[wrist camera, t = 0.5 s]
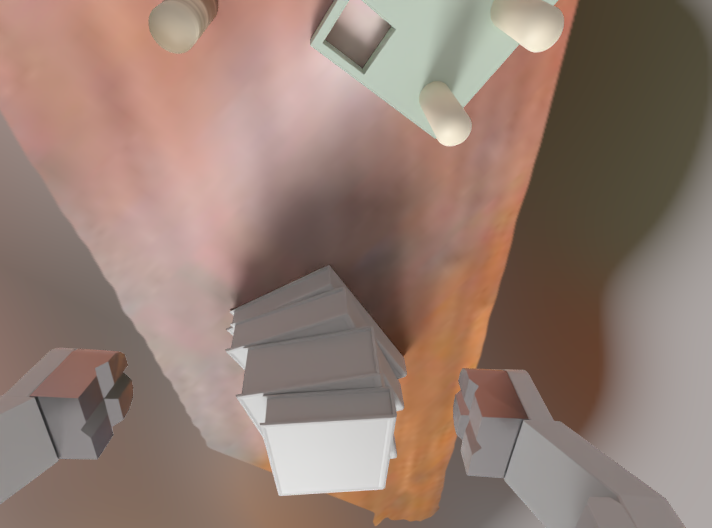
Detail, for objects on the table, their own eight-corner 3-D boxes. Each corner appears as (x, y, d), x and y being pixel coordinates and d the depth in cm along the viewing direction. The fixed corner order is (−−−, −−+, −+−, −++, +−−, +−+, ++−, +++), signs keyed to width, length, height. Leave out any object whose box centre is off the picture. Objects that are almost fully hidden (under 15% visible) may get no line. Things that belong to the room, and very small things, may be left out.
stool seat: (423, -149, 40) (455, -161, 31) (549, -5, 49) (602, 18, 40) (310, 39, 50) (310, 72, 41) (431, 131, 59) (453, 174, 50)
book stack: (346, 249, 72) (359, 379, 53) (423, 352, 93) (451, 472, 74) (208, 313, 80) (175, 447, 61) (308, 395, 101) (307, 513, 82)
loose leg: (188, -28, 45) (158, -8, 36) (224, -2, 47) (203, 23, 38) (174, 7, 47) (142, 35, 38) (209, 31, 49) (185, 62, 40)
